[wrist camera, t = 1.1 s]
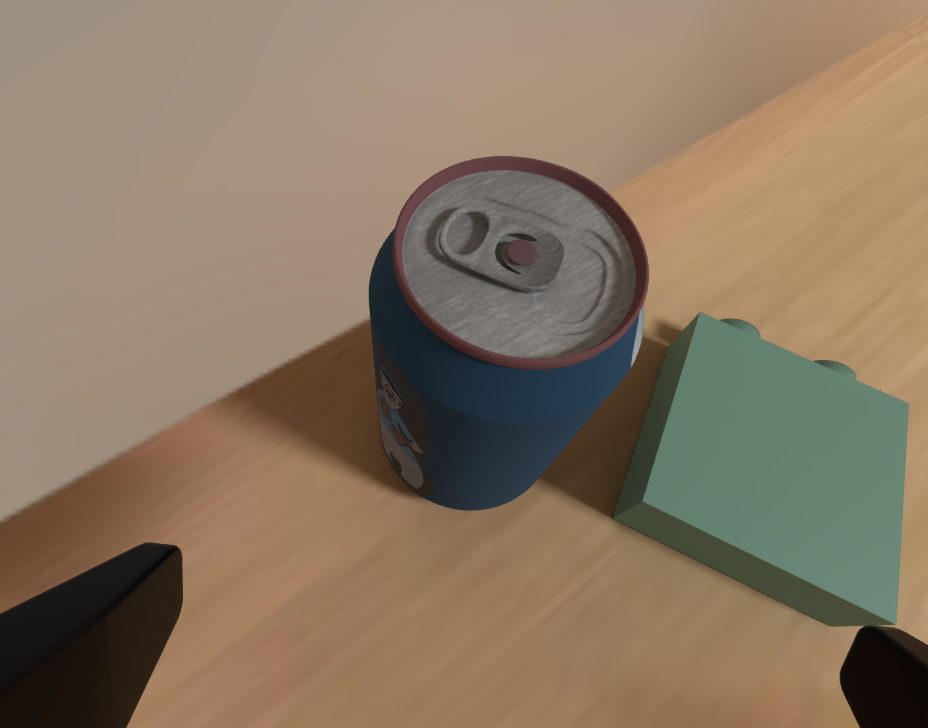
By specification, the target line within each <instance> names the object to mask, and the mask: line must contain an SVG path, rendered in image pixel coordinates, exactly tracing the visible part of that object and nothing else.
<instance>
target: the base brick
mask: <svg viewBox="0 0 928 728" xmlns="http://www.w3.org/2000/svg"><path fill="white" fill-rule="evenodd" d="M908 408H909V403H907V402H904V401H902V400H900V399H897V398H895V397H893V396H891V395H888V394H886V393H884V392H881V391H879V390H877V389H875V388H872V387H870V386H868V385H865V384H863V383H861V382H859V381H856V374H855V372H854V371H853V370H852V369H851V368H850V367H848V366H846V365H844V364H842V363H839V362H835V361H829V360H817V361H811V360H808V359H806V358H804V357H802V356H799V355H797V354H795V353H792V352H790V351H788V350H786V349H783V348H781V347H779V346H777V345H774V344H772V343H770V342H767V341H765V340H763V339H761V338H760V333H759V331H758V329H757V328H756V327H755V326H753V325H752V324H750V323H748V322H746V321H743V320H739V319H722V320H717V319H715V318H713V317H710V316H708V315H706V314H703V313H701V312H700V313H699V314H698V315H697V316H696V317H695V318H694V319H693V320H692V321H691V322H690V324H689V325H688V326H687V327H686V328H685V329H684V330H683V331H682V332H681V333H680V334H679V335H678V337H677V338H676V339H675V340H674V341H673V342H672V343H671V344H670V345H669V347H668V350H667V353H666V356H665V359H664V362H663V365H662V368H661V371H660V374H659V377H658V380H657V383H656V386H655V389H654V392H653V395H652V398H651V402H650V405H649V408H648V411H647V414H646V417H645V420H644V423H643V426H642V429H641V432H640V435H639V438H638V441H637V444H636V447H635V450H634V453H633V456H632V459H631V462H630V465H629V469H628V472H627V475H626V478H625V481H624V484H623V487H622V490H621V493H620V496H619V499H618V502H617V505H616V508H615V511H614V514H613V517H612V519H614V520H616V521H618V522H620V523H622V524H624V525H626V526H628V527H630V528H632V529H634V530H636V531H638V532H641V533H643V534H645V535H647V536H649V537H651V538H653V539H655V540H657V541H659V542H661V543H663V544H665V545H667V546H669V547H671V548H673V549H675V550H677V551H679V552H681V553H683V554H685V555H687V556H689V557H691V558H693V559H695V560H697V561H699V562H701V563H703V564H705V565H707V566H709V567H711V568H714V569H716V570H718V571H720V572H722V573H724V574H726V575H728V576H730V577H732V578H734V579H736V580H738V581H740V582H742V583H744V584H746V585H748V586H750V587H752V588H754V589H756V590H758V591H760V592H762V593H764V594H766V595H768V596H770V597H772V598H774V599H776V600H778V601H780V602H782V603H784V604H787V605H789V606H791V607H793V608H795V609H797V610H799V611H801V612H803V613H805V614H807V615H809V616H811V617H813V618H815V619H817V620H819V621H821V622H823V623H825V624H827V625H829V626H831V627H836V626H867V625H896V621H897V604H898V586H899V568H900V550H901V532H902V515H903V497H904V479H905V461H906V444H907V426H908Z"/></svg>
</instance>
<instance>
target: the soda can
mask: <svg viewBox="0 0 928 728" xmlns="http://www.w3.org/2000/svg"><path fill="white" fill-rule="evenodd" d="M648 283H649V265H648V259H647V254H646V250H645V247H644V244H643V241H642V239H641V236H640V234H639V232H638V230H637V228H636V226H635V225H634V223H633V222H632V220H631V219H630V217H629V216H628V214H627V213H626V212H625V211H624V209H623V208H622V207H621V206H620V205H619V204H618V202H617V201H616V200H615V199H614V198H613V197H612V196H611V195H610V194H608V193H607V192H606V191H605V190H604V189H603V188H601V187H600V186H599V185H597V184H596V183H594V182H593V181H591V180H589V179H588V178H586V177H584V176H582V175H580V174H578V173H576V172H574V171H572V170H569V169H567V168H564V167H561V166H558V165H555V164H552V163H548V162H544V161H541V160H536V159H531V158H523V157H513V156H494V157H485V158H478V159H473V160H469V161H465V162H462V163H458V164H456V165H453V166H450V167H448V168H446V169H444V170H442V171H440V172H439V173H437V174H435V175H433V176H432V177H430V178H429V179H428V180H427V181H425V182H424V183H423V184H422V185H421V186H419V187H418V189H416V191H415V192H414V193H413V194H412V195H411V196H410V198H409V199H408V200H407V202H406V203H405V205H404V207H403V208H402V210H401V212H400V215H399V217H398V220H397V223H396V226H395V229H394V230H393V231H392V232H391V233H390V235H389V236H388V238H387V239H386V240H385V242H384V243H383V245H382V247H381V249H380V250H379V253H378V255H377V257H376V259H375V262H374V265H373V268H372V272H371V276H370V284H369V308H370V320H371V331H372V343H373V354H374V366H375V377H376V389H377V401H378V412H379V424H380V434H381V440H382V444H383V448H384V451H385V453H386V456H387V458H388V460H389V462H390V464H391V466H392V467H393V469H394V470H395V472H396V473H397V475H398V476H399V477H400V478H401V479H402V480H403V482H404V483H405V484H406V485H407V486H408V487H410V488H411V489H412V490H413V491H415V492H416V493H417V494H419V495H420V496H422V497H424V498H425V499H427V500H429V501H431V502H433V503H436V504H438V505H441V506H444V507H448V508H452V509H458V510H484V509H489V508H493V507H497V506H500V505H503V504H505V503H507V502H510V501H512V500H513V499H515V498H517V497H518V496H520V495H521V494H523V493H524V492H525V491H527V490H528V489H529V488H530V487H531V486H532V485H533V484H534V483H535V482H536V481H537V479H538V478H539V477H540V476H541V475H542V474H543V472H544V471H545V470H546V469H547V468H548V467H549V465H550V464H551V463H552V462H553V461H554V460H555V458H556V457H557V456H558V455H559V454H560V453H561V451H562V450H563V449H564V448H565V447H566V445H567V444H568V443H569V442H570V441H571V440H572V438H573V437H574V436H575V435H576V434H577V433H578V431H579V430H580V429H581V428H582V427H583V426H584V424H585V423H586V422H587V421H588V420H589V419H590V417H591V416H592V415H593V414H594V413H595V412H596V410H597V409H598V408H599V407H600V406H601V405H602V403H603V402H604V401H605V400H606V399H607V398H608V396H609V395H610V394H611V393H612V392H613V391H614V389H615V388H616V387H617V386H618V385H619V384H620V382H621V381H622V380H623V379H624V377H625V376H626V375H627V373H628V372H629V370H630V368H631V367H632V365H633V363H634V361H635V359H636V356H637V354H638V351H639V348H640V345H641V341H642V336H643V328H644V307H643V304H644V301H645V298H646V294H647V290H648Z"/></svg>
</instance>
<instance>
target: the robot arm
mask: <svg viewBox="0 0 928 728" xmlns="http://www.w3.org/2000/svg"><path fill="white" fill-rule="evenodd" d="M182 603H183V569H182V553H181V550H180V549H179V548H178V547H177V546H175V545H168V544H159V543H143V544H141V545H138V546H136V547H134V548H132V549H130V550H128V551H126V552H124V553H122V554H120V555H118V556H116V557H114V558H112V559H110V560H108V561H106V562H104V563H102V564H100V565H98V566H96V567H94V568H92V569H90V570H88V571H86V572H84V573H82V574H80V575H78V576H76V577H74V578H72V579H70V580H67V581H65V582H63V583H61V584H59V585H57V586H55V587H53V588H51V589H49V590H47V591H45V592H43V593H41V594H39V595H37V596H35V597H33V598H31V599H29V600H27V601H25V602H23V603H21V604H19V605H17V606H15V607H13V608H11V609H9V610H7V611H5V612H3V613H1V614H0V728H126V727H127V725H128V723H129V721H130V719H131V717H132V715H133V713H134V711H135V709H136V706H137V704H138V702H139V700H140V698H141V696H142V694H143V692H144V690H145V687H146V685H147V683H148V681H149V679H150V677H151V675H152V673H153V671H154V669H155V666H156V664H157V662H158V660H159V658H160V656H161V654H162V652H163V650H164V648H165V645H166V643H167V641H168V639H169V637H170V635H171V633H172V631H173V629H174V626H175V624H176V622H177V620H178V618H179V615H180V612H181V608H182ZM840 684H841V688H842V691H843V693H844V696H845V698H846V700H847V702H848V704H849V706H850V708H851V710H852V712H853V714H854V717H855V719H856V721H857V723H858V725H859V727H860V728H928V645H927V644H925V643H923V642H922V641H920V640H918V639H917V638H915V637H913V636H911V635H910V634H908V633H906V632H904V631H902V630H900V629H897V628H893V627H885V626H876V625H867V626H864V627H862V628H861V629H860V630H859V631H858V633H857V635H856V637H855V639H854V641H853V643H852V645H851V648H850V650H849V652H848V654H847V656H846V659H845V661H844V663H843V665H842V667H841V670H840Z"/></svg>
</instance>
